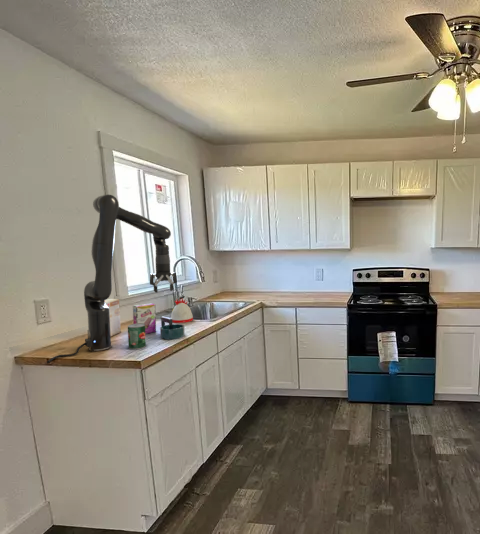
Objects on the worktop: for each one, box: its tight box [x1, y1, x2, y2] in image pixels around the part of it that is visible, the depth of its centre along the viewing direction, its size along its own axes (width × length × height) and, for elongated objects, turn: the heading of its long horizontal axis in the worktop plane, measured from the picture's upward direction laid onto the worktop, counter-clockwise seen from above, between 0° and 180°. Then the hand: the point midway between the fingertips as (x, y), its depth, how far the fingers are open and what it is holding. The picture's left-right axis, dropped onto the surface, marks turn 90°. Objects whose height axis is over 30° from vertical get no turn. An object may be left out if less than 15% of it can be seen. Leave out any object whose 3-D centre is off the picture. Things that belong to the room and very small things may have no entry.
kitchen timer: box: [170, 297, 194, 324], centre depth 229 cm, size 14×14×15 cm
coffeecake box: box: [104, 298, 122, 337], centre depth 193 cm, size 15×7×20 cm, turn 175°
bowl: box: [159, 323, 186, 340], centre depth 190 cm, size 12×13×6 cm
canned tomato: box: [127, 323, 147, 350], centre depth 172 cm, size 8×8×11 cm
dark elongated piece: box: [160, 316, 174, 329], centre depth 195 cm, size 16×5×9 cm, turn 43°
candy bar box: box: [132, 303, 157, 335], centre depth 197 cm, size 11×5×16 cm, turn 141°
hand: (163, 291), depth 195 cm, fingers open, 8 cm apart
